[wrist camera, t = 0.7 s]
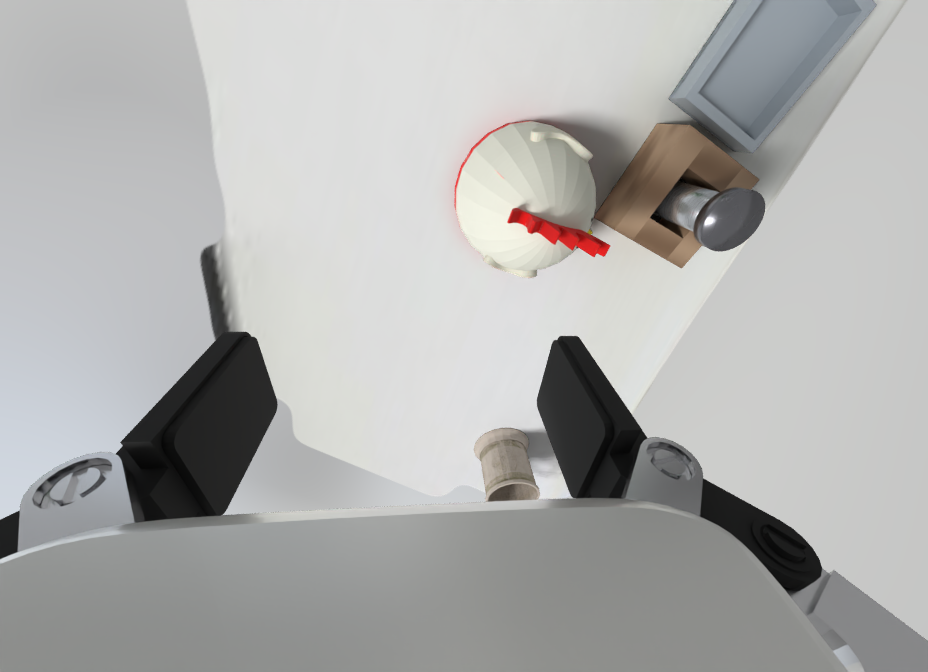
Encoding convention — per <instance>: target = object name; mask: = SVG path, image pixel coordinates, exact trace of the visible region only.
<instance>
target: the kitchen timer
mask: <svg viewBox="0 0 928 672" xmlns="http://www.w3.org/2000/svg"><path fill="white" fill-rule="evenodd" d="M592 157H593V154H592V153H591V152H590V151H589V150H587V149H586V148H585V147H584V146H583V145H581V144H580V143H579V142H578V141H577V140H576V139H575V138H573V137H572V136H571V135H569V134H568V133H566V132H564V131H562V130H560V129H558V128H555V127H554V126H552V125H547V124H543V123H538V122H534V121H522V122H515V123H507V124H505V125H503V126H501V127H499V128H497V129H495V130H493V131H491V132H489V133H487V134H486V135H485V136H484V137H483V138H482V139H481V140H480V141H479V142H478V143H477V144H476V145H475V146H473V147H472V149H471V150H470V152H469V154H468V155H467V157H466V159H465V160H464V162H463V164H462V165H461V168H460V171H459V174H458V178H457V181H456V185H455V210H456V213H457V217H458V221H459V225H460V228H461V230H462V232H463V233H464V235H465V237H466V238H467V240H468V242H469V243H470V245H471V246H472V247H473V248H474V249H475V250H476V251H478V252H479V253H480V254H481V255H482V256H483V257H484V261H485V262H486V263H487V264H489V265H490V266H492V267H494V268H497V269H499V270H502V271H505V272H508V273H511V274H514V275H516V276H519V277H524V278H533V277H536V276H537V270H538V269H544V268H547V267H549V266H552V265H554V264H557V263H559V262H561V261H562V260H563V259H565V258H566V257H567V256H569V255H570V254H572V253H573V252H574V251H575V249H576V248H578V247H579V248H580V249H582V250H583V251H585V252H586V253H588V254H590V255H591V256H593V257H595V255H596V253H598V254H600V255H602V256H605V255H606V253H607V251H608V249H609V248H610V245H609V244H607V243H605V242H603V241H601V240H600V239H598V238H596V237H594V236H592V235H590V234H592V233H593V232H592V231H591V230H590V227H591V225H592V221H593V217H594V213H595V209H596V185H595V182H594V179H593V176H592V173H591V170H590V167H589V164H588V161H589V160H590V159H591V158H592Z"/></svg>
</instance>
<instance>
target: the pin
mask: <svg viewBox="0 0 928 672" xmlns="http://www.w3.org/2000/svg"><path fill="white" fill-rule="evenodd" d="M764 212H765V201H764V198H763V197H762V195H761V194H760V193H758V192H756V191H753V190H749V189H745V188H740V187H733V188H729V189H725V190H723V191H721V192H717V191H713V190H709V189H705V188H702V187H698V186H694V185H690V184H687V183H683V182H679V181H677V182H676V184H675V185H674V186H673V188H672V189H671V190H670V192H669V193H668V194H667V196H666V197H665V198H664V200H663V201H662V202H661V204H660V205H659V206H658V207H657V209H656V210H655V211H654V213H653V214H654V215H657V216H659V217H661V218H663V219H666V220H668V221H670V222H672V223H675V224H677V225H679V226H682V227H684V228H686V229H688V230H691V231H693V232H694V237H695V239H696V241H697V242H698V243H699V244H701V245H703V246H705V247H707V248H709V249H711V250H714V251H726V250H730V249H733V248H735V247H737V246H739V245H740V244H742V243H743V242H745V241H746V240H747V239H748V238H749V237H750V236H751V235H752V234H753V233H754V232H755V231H756V229H757V228H758V226H759V225H760V223H761V221H762V219H763V216H764Z"/></svg>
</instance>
